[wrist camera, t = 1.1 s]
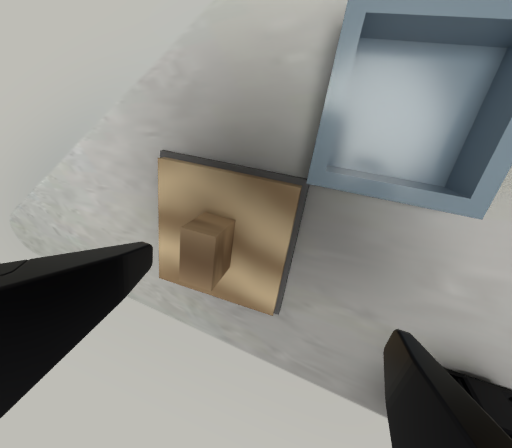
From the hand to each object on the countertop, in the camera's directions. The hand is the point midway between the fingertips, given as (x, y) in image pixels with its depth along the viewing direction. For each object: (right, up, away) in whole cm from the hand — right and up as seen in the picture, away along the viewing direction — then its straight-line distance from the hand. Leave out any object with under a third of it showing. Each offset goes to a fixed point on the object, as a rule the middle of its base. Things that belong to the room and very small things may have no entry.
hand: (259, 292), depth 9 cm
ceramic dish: (+10, +10, +8) cm, 16 cm away
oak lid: (-3, +1, +15) cm, 15 cm away
